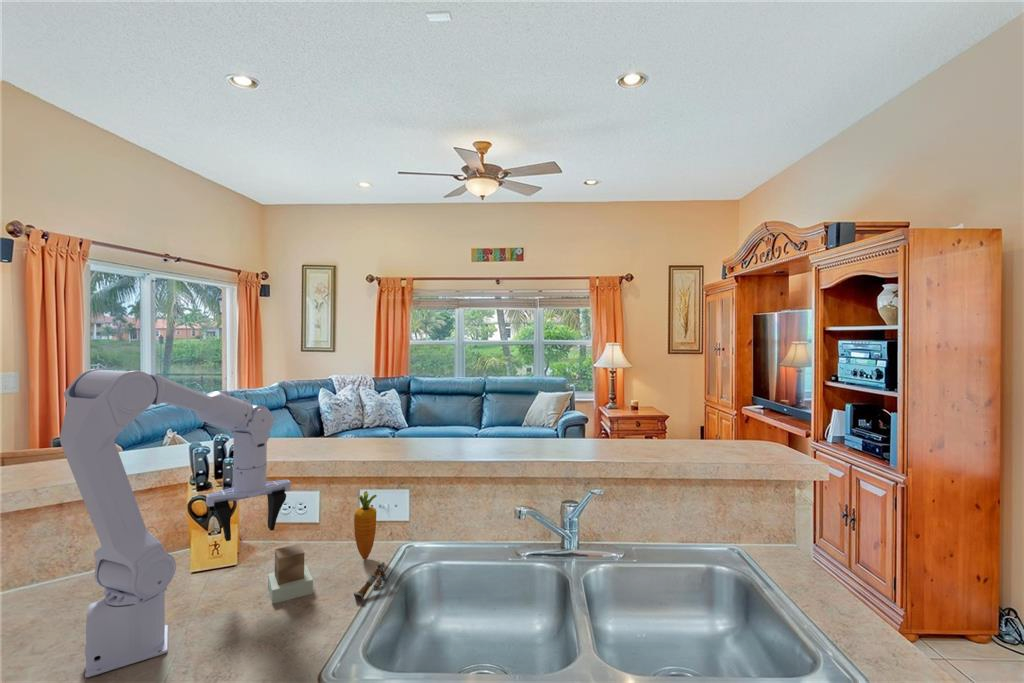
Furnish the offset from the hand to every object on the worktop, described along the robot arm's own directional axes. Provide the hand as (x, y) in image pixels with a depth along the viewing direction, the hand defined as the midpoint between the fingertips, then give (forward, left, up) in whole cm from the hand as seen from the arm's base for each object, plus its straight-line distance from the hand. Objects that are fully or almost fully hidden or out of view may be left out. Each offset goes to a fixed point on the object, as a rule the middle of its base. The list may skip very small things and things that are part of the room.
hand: (249, 533), depth 93 cm
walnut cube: (+6, -7, -7) cm, 12 cm away
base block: (+6, -7, -10) cm, 14 cm away
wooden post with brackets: (+19, -16, -10) cm, 27 cm away
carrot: (+22, -3, -10) cm, 24 cm away
